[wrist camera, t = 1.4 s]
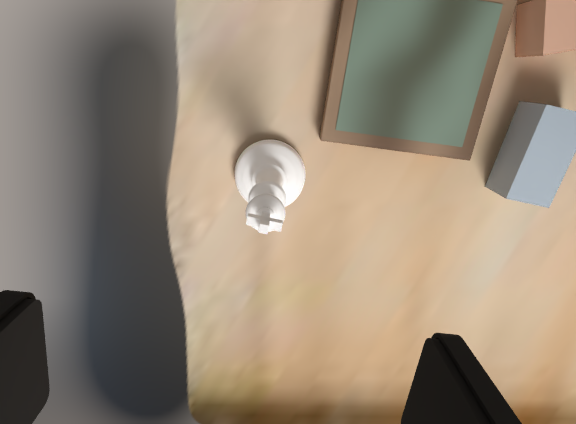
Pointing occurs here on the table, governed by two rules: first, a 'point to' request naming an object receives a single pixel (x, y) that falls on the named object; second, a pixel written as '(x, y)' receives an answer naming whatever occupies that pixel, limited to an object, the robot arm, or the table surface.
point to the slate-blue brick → (534, 154)
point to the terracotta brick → (545, 27)
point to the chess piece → (269, 182)
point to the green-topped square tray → (414, 73)
